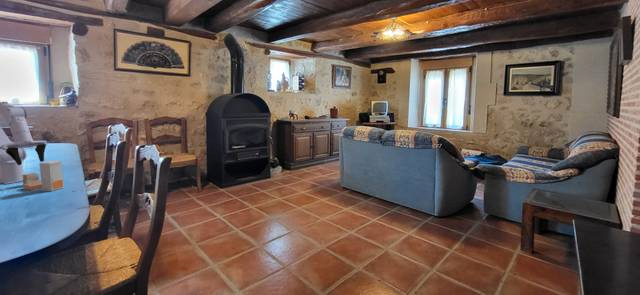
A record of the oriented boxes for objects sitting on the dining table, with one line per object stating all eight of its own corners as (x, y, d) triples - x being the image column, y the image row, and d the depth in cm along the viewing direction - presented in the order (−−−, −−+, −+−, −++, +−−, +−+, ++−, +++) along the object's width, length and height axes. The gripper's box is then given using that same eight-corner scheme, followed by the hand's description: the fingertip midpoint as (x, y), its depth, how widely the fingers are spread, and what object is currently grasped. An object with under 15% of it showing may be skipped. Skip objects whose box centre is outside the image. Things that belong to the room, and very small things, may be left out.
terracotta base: (23, 188, 128) (22, 184, 128) (43, 184, 134) (43, 180, 134) (31, 191, 125) (31, 186, 125) (52, 186, 131) (51, 182, 131)
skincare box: (51, 191, 125) (48, 163, 123) (41, 191, 125) (38, 163, 124) (64, 187, 131) (61, 160, 130) (55, 187, 131) (52, 160, 130)
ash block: (23, 185, 133) (22, 174, 132) (35, 183, 137) (33, 172, 136) (28, 186, 131) (26, 175, 131) (39, 184, 135) (38, 173, 134)
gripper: (2, 132, 123) (12, 163, 123) (45, 129, 136) (55, 157, 136) (-5, 137, 126) (6, 168, 126) (39, 134, 139) (48, 161, 139)
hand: (31, 162), depth 131 cm, fingers open, 7 cm apart
